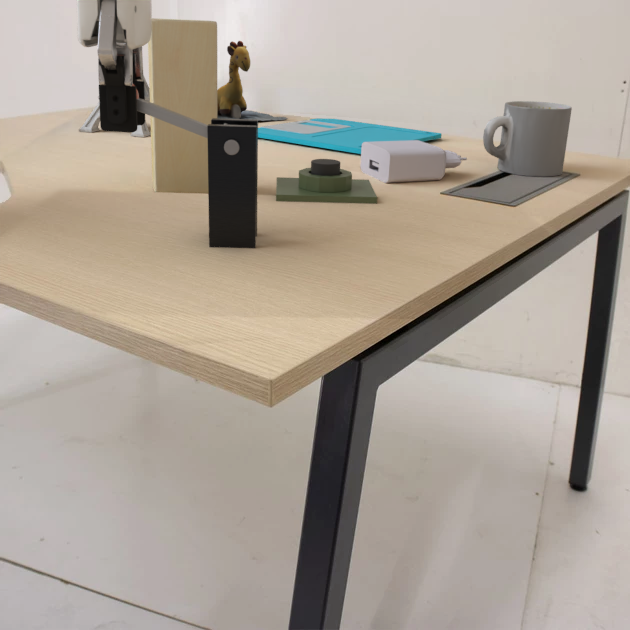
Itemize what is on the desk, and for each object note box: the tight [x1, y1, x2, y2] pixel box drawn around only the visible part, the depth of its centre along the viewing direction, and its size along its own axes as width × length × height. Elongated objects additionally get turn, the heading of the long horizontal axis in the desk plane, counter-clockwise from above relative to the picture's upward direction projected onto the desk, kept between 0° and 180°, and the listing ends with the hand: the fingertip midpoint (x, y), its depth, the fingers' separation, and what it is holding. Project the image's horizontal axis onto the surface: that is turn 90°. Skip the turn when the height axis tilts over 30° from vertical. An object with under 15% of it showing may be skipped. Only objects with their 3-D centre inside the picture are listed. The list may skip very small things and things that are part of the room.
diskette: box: [258, 117, 442, 155], centre depth 149 cm, size 26×28×1 cm
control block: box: [275, 167, 378, 205], centre depth 99 cm, size 12×10×4 cm
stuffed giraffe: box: [217, 40, 289, 122], centre depth 168 cm, size 16×18×16 cm
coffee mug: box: [482, 100, 573, 178], centre depth 123 cm, size 13×10×10 cm
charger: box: [359, 140, 468, 184], centre depth 117 cm, size 5×9×15 cm
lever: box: [132, 84, 229, 138], centre depth 74 cm, size 14×3×3 cm, turn 92°
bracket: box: [207, 118, 259, 249], centre depth 76 cm, size 12×9×13 cm
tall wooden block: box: [147, 17, 218, 195], centre depth 100 cm, size 8×7×21 cm
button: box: [310, 158, 341, 176], centre depth 98 cm, size 4×4×2 cm
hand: (123, 125), depth 74 cm, fingers closed on lever, 3 cm apart
